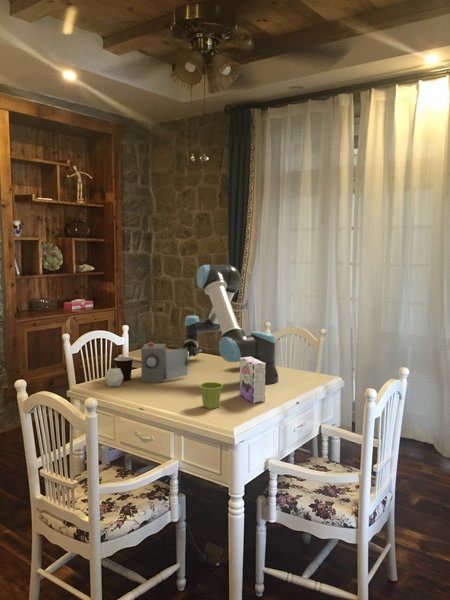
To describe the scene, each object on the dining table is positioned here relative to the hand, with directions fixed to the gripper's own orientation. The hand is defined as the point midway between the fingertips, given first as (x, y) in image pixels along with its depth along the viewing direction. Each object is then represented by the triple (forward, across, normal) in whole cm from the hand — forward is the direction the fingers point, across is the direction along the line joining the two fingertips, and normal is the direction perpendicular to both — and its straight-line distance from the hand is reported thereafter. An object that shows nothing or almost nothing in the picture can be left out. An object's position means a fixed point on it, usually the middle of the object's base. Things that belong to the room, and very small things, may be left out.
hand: (186, 356), depth 251 cm
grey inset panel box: (+9, +15, -9) cm, 20 cm away
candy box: (+39, -31, -9) cm, 50 cm away
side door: (+10, +4, -8) cm, 13 cm away
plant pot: (+51, -14, -9) cm, 53 cm away
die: (+21, +31, -10) cm, 38 cm away
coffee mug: (+8, +29, -10) cm, 32 cm away
